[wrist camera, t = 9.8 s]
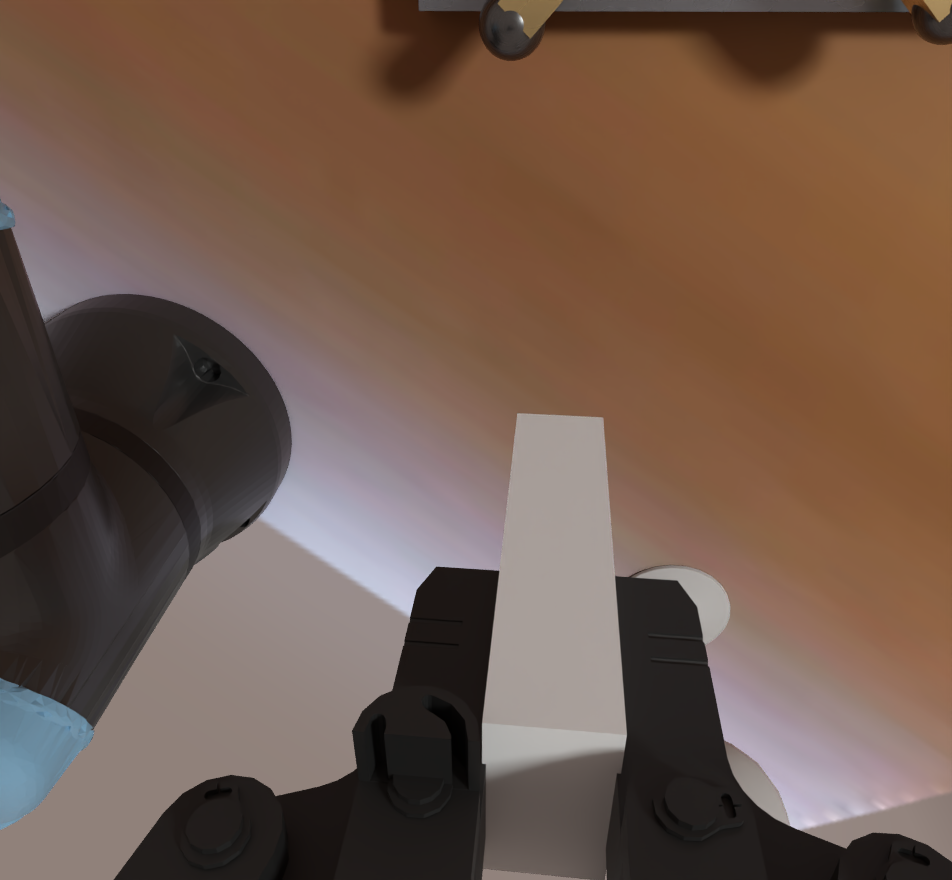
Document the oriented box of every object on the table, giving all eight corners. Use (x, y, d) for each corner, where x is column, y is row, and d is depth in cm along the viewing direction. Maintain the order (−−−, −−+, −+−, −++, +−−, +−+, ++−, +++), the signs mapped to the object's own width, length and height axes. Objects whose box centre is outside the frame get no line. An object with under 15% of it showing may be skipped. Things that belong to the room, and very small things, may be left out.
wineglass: (703, 665, 50) (777, 1053, 32) (590, 635, 50) (603, 1011, 32) (754, 581, 46) (871, 972, 28) (632, 549, 46) (672, 923, 28)
